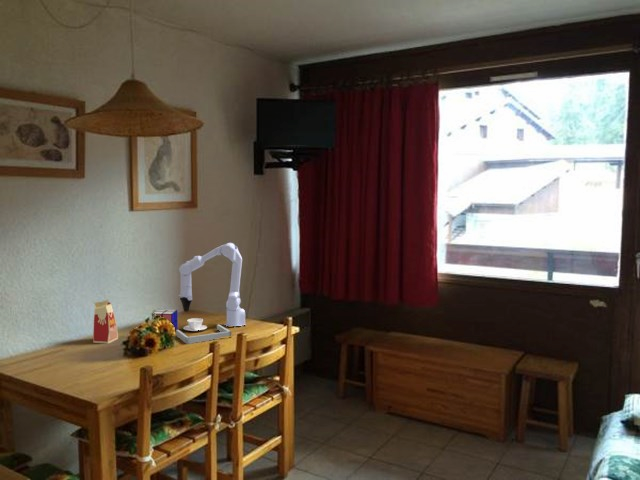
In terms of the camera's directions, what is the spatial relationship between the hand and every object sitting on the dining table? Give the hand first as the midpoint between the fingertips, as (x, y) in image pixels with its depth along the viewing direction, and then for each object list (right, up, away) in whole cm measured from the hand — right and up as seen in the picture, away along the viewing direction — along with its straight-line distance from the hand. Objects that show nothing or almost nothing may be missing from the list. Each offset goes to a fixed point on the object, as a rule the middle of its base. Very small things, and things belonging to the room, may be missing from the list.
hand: (186, 311), depth 287 cm
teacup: (+7, -9, -9) cm, 14 cm away
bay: (+14, -10, -21) cm, 27 cm away
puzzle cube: (-8, -9, -11) cm, 16 cm away
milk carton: (-31, -10, -30) cm, 45 cm away
